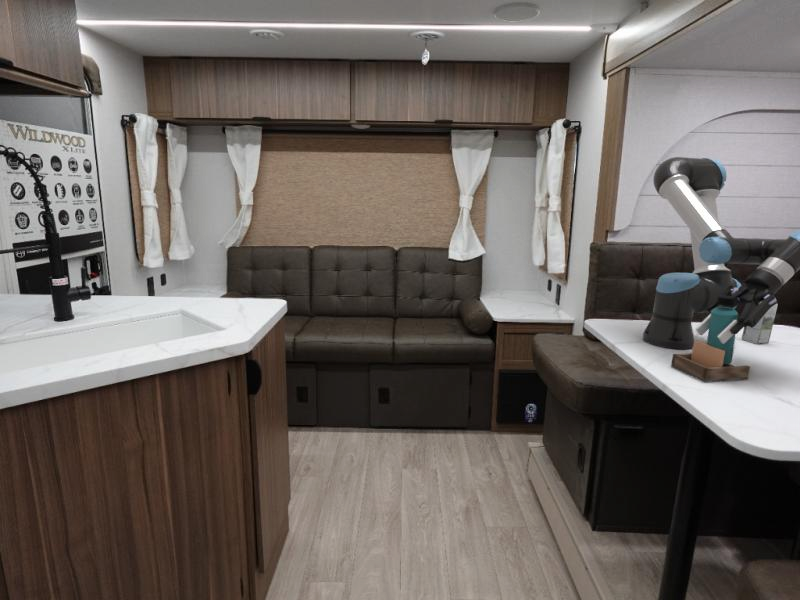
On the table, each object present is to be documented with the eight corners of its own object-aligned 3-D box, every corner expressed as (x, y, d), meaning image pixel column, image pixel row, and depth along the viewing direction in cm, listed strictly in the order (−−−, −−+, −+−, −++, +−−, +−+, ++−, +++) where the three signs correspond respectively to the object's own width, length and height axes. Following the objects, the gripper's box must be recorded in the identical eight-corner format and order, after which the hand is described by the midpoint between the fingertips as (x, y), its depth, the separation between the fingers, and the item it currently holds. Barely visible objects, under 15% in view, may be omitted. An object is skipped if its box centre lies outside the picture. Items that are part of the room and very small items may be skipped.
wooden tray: (710, 364, 144) (713, 352, 144) (747, 379, 133) (750, 366, 132) (671, 366, 141) (673, 353, 140) (704, 382, 130) (707, 369, 129)
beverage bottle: (734, 370, 133) (745, 299, 128) (706, 368, 135) (716, 298, 130) (727, 362, 139) (737, 294, 134) (700, 360, 141) (709, 293, 136)
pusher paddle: (692, 363, 141) (697, 340, 139) (720, 375, 132) (725, 351, 131) (689, 363, 141) (694, 340, 139) (717, 375, 132) (722, 351, 130)
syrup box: (752, 338, 174) (761, 299, 170) (769, 343, 168) (778, 303, 165) (741, 339, 172) (749, 299, 169) (757, 344, 166) (766, 303, 163)
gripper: (810, 294, 126) (747, 356, 126) (742, 280, 145) (687, 334, 145) (799, 274, 124) (734, 337, 124) (731, 262, 142) (675, 317, 142)
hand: (709, 336), depth 134 cm, fingers open, 7 cm apart
